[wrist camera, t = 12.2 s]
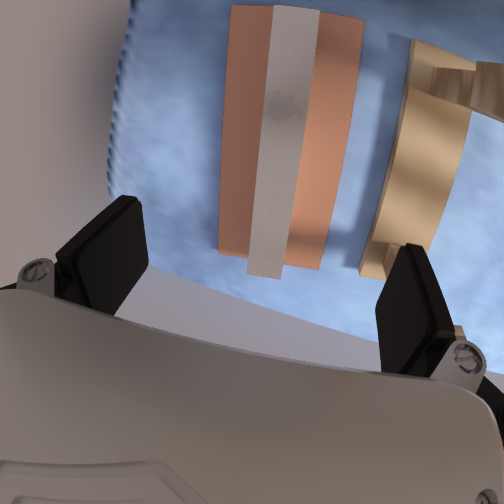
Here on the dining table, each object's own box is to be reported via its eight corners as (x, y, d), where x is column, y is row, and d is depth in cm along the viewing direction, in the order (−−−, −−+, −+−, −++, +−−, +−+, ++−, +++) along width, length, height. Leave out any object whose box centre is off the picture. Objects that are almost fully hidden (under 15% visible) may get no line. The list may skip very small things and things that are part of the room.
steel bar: (278, 12, 17) (274, 4, 15) (318, 17, 17) (319, 10, 15) (252, 254, 30) (246, 273, 28) (283, 260, 30) (280, 279, 27)
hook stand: (410, 40, 17) (518, 25, 5) (472, 64, 16) (595, 90, 5) (358, 268, 29) (373, 397, 18) (410, 277, 29) (444, 398, 17)
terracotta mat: (233, 6, 18) (231, 4, 18) (363, 21, 17) (364, 20, 17) (219, 250, 31) (217, 253, 31) (318, 266, 30) (318, 269, 30)
